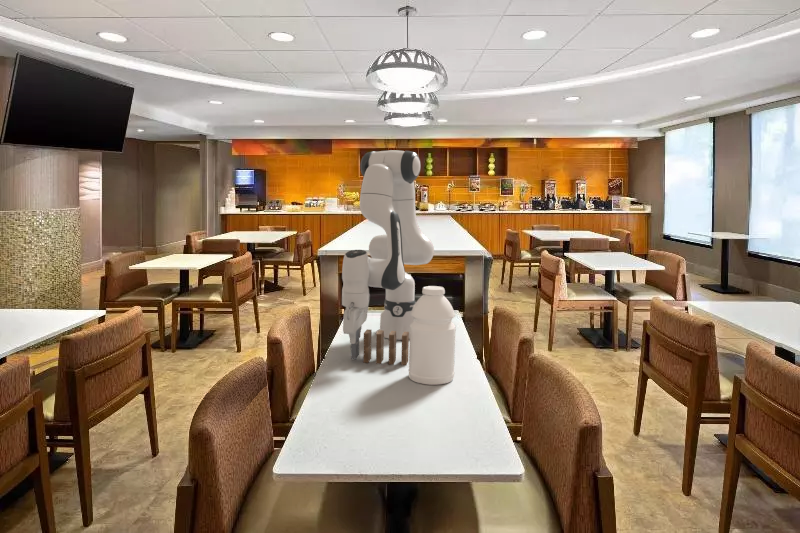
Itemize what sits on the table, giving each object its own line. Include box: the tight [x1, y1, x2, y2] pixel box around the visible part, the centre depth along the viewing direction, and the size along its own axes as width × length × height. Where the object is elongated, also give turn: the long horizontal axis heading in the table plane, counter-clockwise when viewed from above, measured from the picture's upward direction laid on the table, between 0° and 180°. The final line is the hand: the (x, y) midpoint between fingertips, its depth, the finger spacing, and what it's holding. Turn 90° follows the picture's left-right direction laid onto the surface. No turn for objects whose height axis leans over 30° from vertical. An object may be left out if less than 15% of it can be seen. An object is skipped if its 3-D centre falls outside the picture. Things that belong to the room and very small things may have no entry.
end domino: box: [350, 329, 360, 360], centre depth 194 cm, size 2×5×10 cm, turn 171°
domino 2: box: [375, 329, 385, 365], centre depth 193 cm, size 2×5×10 cm, turn 171°
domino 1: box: [362, 328, 372, 364], centre depth 194 cm, size 2×5×10 cm, turn 172°
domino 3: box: [388, 331, 397, 366], centre depth 193 cm, size 2×5×10 cm, turn 172°
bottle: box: [408, 285, 457, 386], centre depth 177 cm, size 14×14×28 cm
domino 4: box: [400, 332, 410, 366], centre depth 192 cm, size 2×5×10 cm, turn 171°
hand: (355, 340), depth 194 cm, fingers closed on end domino, 5 cm apart
